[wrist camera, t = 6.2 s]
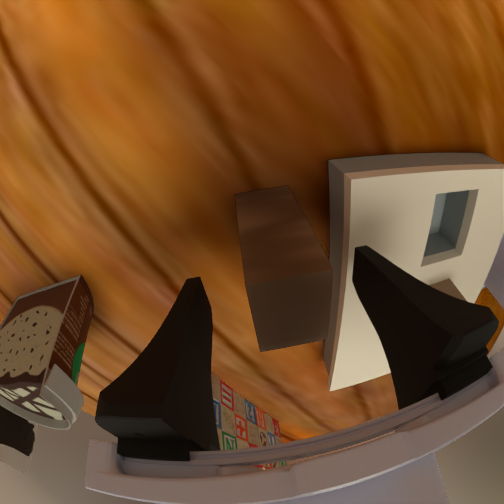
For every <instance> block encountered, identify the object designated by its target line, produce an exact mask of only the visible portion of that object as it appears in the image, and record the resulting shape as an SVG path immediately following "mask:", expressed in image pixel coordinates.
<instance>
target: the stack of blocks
mask: <svg viewBox="0 0 504 504" xmlns="http://www.w3.org/2000/svg"><path fill="white" fill-rule="evenodd" d="M211 381H212V393H213V402H214V411H215V418H216V426H217V432H218V438H219V443H220V449H221V450H234V449H244V448H253V447H261V446H268V445H275V444H281V443H282V440H281V436H280V429H279V424H278V422H277V421H275V420H274V419H272V418H271V417H270V416H269V415H267V414H266V413H264V412H263V411H262V410H260V409H259V408H257V407H256V406H254V405H253V404H251V403H250V402H248V401H247V400H246V399H244V398H243V397H241V396H240V395H239V394H237V393H236V392H235V391H233V389H231V388H230V387H229V386H228V385H226V384H225V383H224V382H222V381H221V380H220V379H219V378H218V377H216V376H215V375H214V374H213V373H212V372H211ZM285 465H286V461H283V462H277V463H270V464H262V465H254V466H257V467H259V470H265V469H270V468H275V467H280V466H285Z"/></svg>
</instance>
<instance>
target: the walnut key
mask: <svg viewBox="0 0 504 504" xmlns="http://www.w3.org/2000/svg"><path fill="white" fill-rule="evenodd" d="M235 202H236V211H237V220H238V228H239V237H240V245H241V254H242V262H243V271H244V279H245V286H246V291H247V295H248V300H249V304H250V309H251V313H252V318H253V322H254V327H255V331H256V335H257V340H258V344H259V349H260V352H263V351H269V350H275V349H280V348H285V347H290V346H295V345H300V344H305V343H310V342H314V341H319V340H323V339H327V338H328V331H329V321H330V310H331V298H332V285H333V267H332V265H331V264H330V262H329V260H328V258H327V256H326V254H325V252H324V250H323V248H322V246H321V244H320V243H319V241H318V239H317V237H316V235H315V233H314V231H313V230H312V228H311V226H310V224H309V222H308V221H307V219H306V217H305V215H304V213H303V212H302V210H301V208H300V206H299V205H298V203H297V201H296V199H295V198H294V196H293V194H292V192H291V191H290V189H289V187H288V186H281V187H275V188H268V189H262V190H256V191H250V192H245V193H239V194H235Z"/></svg>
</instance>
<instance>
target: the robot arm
mask: <svg viewBox="0 0 504 504" xmlns="http://www.w3.org/2000/svg"><path fill="white" fill-rule="evenodd" d="M352 282H353V285H354V288H355V290H356V293H357V295H358V298H359V300H360V302H361V304H362V305H363V307H364V309H365V311H366V313H367V315H368V317H369V319H370V321H371V323H372V324H373V326H374V328H375V330H376V332H377V334H378V336H379V339H380V341H381V344H382V347H383V349H384V352H385V355H386V358H387V361H388V365H389V368H390V371H391V375H392V379H393V383H394V387H395V391H396V396H397V401H398V407H399V410H398V411H395V412H393V413H390V414H388V415H385V416H382V417H380V418H377V419H374V420H371V421H369V422H365V423H362V424H359V425H356V426H353V427H349V428H346V429H343V430H339V431H335V432H332V433H328V434H324V435H320V436H316V437H311V438H307V439H302V440H297V441H292V442H287V443H281V444H275V445H268V446H261V447H253V448H244V449H234V450H221V449H220V443H219V438H218V432H217V426H216V418H215V411H214V402H213V393H212V381H211V355H212V333H213V324H212V310H211V305H210V303H209V300H208V297H207V295H206V292H205V289H204V287H203V284H202V281H201V278H200V277H196V278H190V279H187V280H186V281H185V283H184V285H183V287H182V289H181V291H180V293H179V295H178V297H177V299H176V301H175V303H174V305H173V306H172V308H171V310H170V312H169V314H168V315H167V317H166V319H165V320H164V322H163V324H162V325H161V327H160V329H159V330H158V332H157V333H156V335H155V336H154V337H153V339H152V340H151V342H150V343H149V344H148V346H147V347H146V348H145V349H144V351H143V352H142V353H141V354H140V355H139V356H138V358H137V359H136V360H135V361H134V362H133V363H132V364H131V365H130V366H129V367H128V368H127V369H126V370H125V371H124V372H123V373H122V374H121V375H120V376H119V377H118V378H117V379H116V380H114V381H113V382H112V383H111V384H110V385H108V386H107V387H106V388H105V389H104V390H102V391H101V392H100V395H99V399H98V404H97V410H96V416H95V421H96V423H97V424H98V425H99V426H100V427H102V428H103V429H105V430H106V431H108V432H110V433H111V434H113V435H114V436H116V437H118V444H117V443H114V442H109V441H103V440H97V439H90V441H89V449H88V457H87V467H86V478H85V487H86V488H87V489H91V490H94V491H98V492H101V493H105V494H109V495H113V496H118V497H122V498H127V499H132V500H138V501H144V502H150V503H158V504H449V500H448V496H447V493H446V489H445V486H444V482H443V479H442V476H441V472H440V469H439V466H438V463H437V460H436V457H435V454H434V452H436V451H438V450H440V449H441V448H443V447H445V446H447V445H448V444H450V443H452V442H453V441H455V440H457V439H458V438H460V437H462V436H463V435H464V434H466V433H468V432H469V431H471V430H472V429H474V428H475V427H477V426H478V425H480V424H481V423H482V422H484V421H485V420H486V419H488V418H489V417H491V416H492V415H493V414H494V413H496V412H497V411H498V410H500V409H501V408H502V407H503V406H504V348H503V349H501V350H500V351H499V352H497V353H496V354H494V355H493V356H492V357H491V358H490V359H488V357H487V356H486V355H487V354H488V349H487V348H486V345H487V343H488V342H489V341H490V339H491V338H492V336H493V335H494V333H495V332H496V330H497V328H498V324H499V321H498V319H497V318H496V316H495V315H494V314H493V312H492V311H491V309H490V308H489V307H485V306H481V305H477V304H473V303H470V302H467V301H464V300H461V299H458V298H456V297H453V296H451V295H448V294H446V293H444V292H441V291H439V290H437V289H435V288H433V287H431V286H429V285H427V284H425V283H424V282H422V281H420V280H418V279H417V278H415V277H413V276H412V275H410V274H409V273H407V272H405V271H404V270H402V269H401V268H399V267H398V266H396V265H395V264H393V263H392V262H391V261H389V260H388V259H386V258H385V257H383V256H382V255H380V254H379V253H378V252H376V251H375V250H373V249H372V248H370V247H369V246H367V245H365V246H360V247H355V252H354V263H353V273H352ZM484 287H487V289H488V290H489V291H490V292H491V294H492V295H493V296H494V297H495V299H496V300H497V301H498V303H499V304H500V305H501V307H502V308H503V309H504V233H503V236H502V239H501V242H500V245H499V248H498V250H497V253H496V256H495V258H494V261H493V263H492V266H491V268H490V271H489V273H488V275H487V278H486V280H485V282H484V284H483V287H482V288H484ZM396 429H397V430H396ZM394 430H395V432H394V433H392V434H389V435H386V436H384V437H381V438H378V439H375V440H373V441H370V442H367V443H364V444H361V445H358V446H354V447H351V448H348V449H345V450H341V451H338V452H334V453H330V454H326V455H322V456H318V457H315V458H311V459H307V460H304V461H301V462H298V463H294V464H290V465H285V466H280V467H275V468H270V469H265V470H259V467H257V466H254V465H262V464H270V463H277V462H283V461H289V460H294V459H299V458H304V457H309V456H313V455H318V454H322V453H326V452H330V451H334V450H337V449H341V448H344V447H348V446H351V445H354V444H358V443H361V442H364V441H367V440H370V439H372V438H375V437H378V436H381V435H383V434H386V433H389V432H391V431H394Z"/></svg>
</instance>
